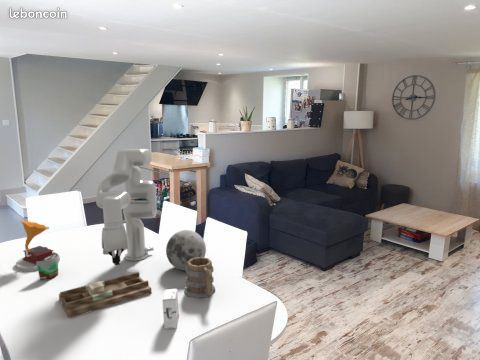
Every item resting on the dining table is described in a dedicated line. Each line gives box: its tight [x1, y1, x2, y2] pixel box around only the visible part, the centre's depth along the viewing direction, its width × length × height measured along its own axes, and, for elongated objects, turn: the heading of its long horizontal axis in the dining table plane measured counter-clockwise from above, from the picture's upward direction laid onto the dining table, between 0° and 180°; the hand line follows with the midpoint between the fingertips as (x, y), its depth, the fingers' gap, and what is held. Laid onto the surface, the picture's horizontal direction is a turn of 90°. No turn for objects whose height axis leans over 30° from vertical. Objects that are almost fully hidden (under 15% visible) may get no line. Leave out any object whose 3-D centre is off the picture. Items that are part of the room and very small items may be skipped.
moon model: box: [165, 229, 207, 271], centre depth 186 cm, size 20×20×20 cm
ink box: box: [162, 288, 180, 330], centre depth 139 cm, size 9×5×12 cm, turn 5°
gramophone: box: [15, 219, 61, 272], centre depth 192 cm, size 20×20×25 cm
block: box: [87, 280, 104, 296], centre depth 156 cm, size 5×5×4 cm
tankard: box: [184, 257, 216, 299], centre depth 160 cm, size 20×13×15 cm, turn 23°
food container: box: [36, 251, 61, 281], centre depth 177 cm, size 12×6×10 cm, turn 168°
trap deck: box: [58, 271, 153, 319], centre depth 159 cm, size 34×18×4 cm, turn 127°
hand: (116, 263), depth 161 cm, fingers closed
